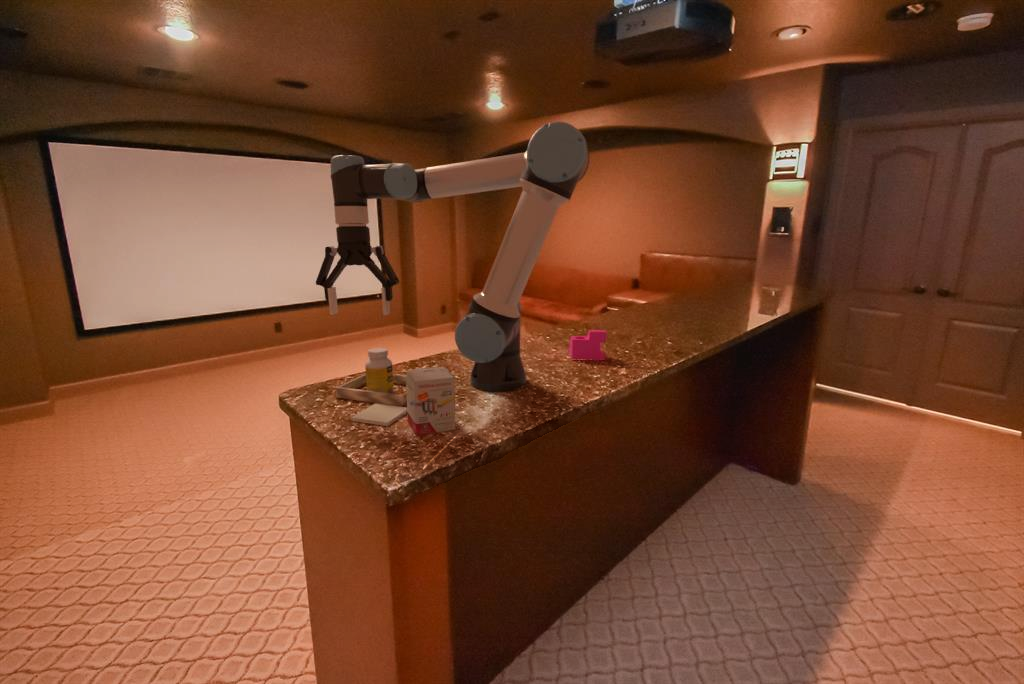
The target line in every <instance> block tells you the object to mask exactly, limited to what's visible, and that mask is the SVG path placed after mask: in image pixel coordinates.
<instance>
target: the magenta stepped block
mask: <svg viewBox="0 0 1024 684" xmlns="http://www.w3.org/2000/svg"><path fill="white" fill-rule="evenodd" d="M606 343H607V331H606V330H603V329H602V330H601V329H598V330H597V329H588V332H587V336H586V335H571V336H570V342H569V348H568V352H569V351H570V352H569V355H570V354H571V356H570V359H571V358H572V359H576V360H577V359H586V360H589V359H590V360H591V359H592V360H601V359H602V360H605V361H606V355H605V354H604V353H605V352H603V350H602V348H601V344H606ZM572 359H571V360H572Z"/></svg>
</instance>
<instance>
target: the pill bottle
mask: <svg viewBox="0 0 1024 684" xmlns="http://www.w3.org/2000/svg"><path fill="white" fill-rule="evenodd" d="M388 351H389V349H388V348H385V347H374V348H370V349H368V350H367V355H368V357H369V359H367V360H366V362H365V363H364V366H365V374H366V383H365V384H366V391H374V392H382V393H390V394H394V392H395V391H394V390H395V389H394V388H395V387H394V383H393V374H394V373H393V371H394V370H393V362H392V361H393V360H392V359H390V358H388V355H389V352H388Z"/></svg>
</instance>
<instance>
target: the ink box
mask: <svg viewBox="0 0 1024 684" xmlns="http://www.w3.org/2000/svg"><path fill="white" fill-rule="evenodd" d="M405 376H406V386H405V387H406V391H407V403H406V408H407V413H406V414H407V417H406V418H407V424H409V426H410V428H411V430H412V431H413V433H414V435H416V436H423V435H429V434H430V435H431V434H435V433H441V432H448V431H454V430H456V399H455V398H456V388H455V386H456V384H455V383H456V381H455V376H454V375H453V374H452V373H451V372H450V370H449V369H448V368H447V367H445V366H435V367H425V368H424V367H423V368H416V369H407V370H406V371H405Z"/></svg>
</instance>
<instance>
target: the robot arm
mask: <svg viewBox="0 0 1024 684" xmlns="http://www.w3.org/2000/svg"><path fill="white" fill-rule="evenodd" d="M589 165H590V152H589V148H588V144H587V141H586V138H585V136H584V135H583V133H582V132H581V131H580V130H579V129H578V128H577V127H575V126H574V125H573V124H571V123H568V122H564V121H559V120H557V121H550V122H548V123H545V124H543V125H541V126H540V127H539V128H538V129H537V130H535V132H534V133H533V134H532V136H531V137H530V140H528V144H527V149H526V151H525V152H518V153H512V154H506V155H501V156H494V157H488V158H480V159H473V160H466V161H462V162H455V163H448V164H442V165H435V166H428V167H423V168H417V169H414V168H413V166H412V165H411V164H410V163H402V162H401V163H400V162H392V163H380V164H366V163H365V160H364V158H363V157H362V156H360V155H359V156H358V155H351V154H350V155H349V154H348V155H346V154H340V155H339V154H338V155H334V156H333V157H331V159H330V179H331V187H332V194H333V204H334V205H333V206H334V207H333V209H334V218H335V219H334V220H335V222H334V223H335V224H336V225H338V226H336V228H335V229H336V241H337V247H335V246H326V247H325V248H324V250H325V252H324V258H323V261H322V264H321V267H320V270H319V272H318V275H317V277H316V280H315V285H316V286H320V287H323V290H324V291H323V292H324V298H325V299H324V300H325V301H326V302H327V301H328V305H329V308H328V309H329V315H331V316H333V315H336V314H339V308H338V299H337V298H338V297H337V296H338V295H337V288H336V287H337V286H334V284H335V283H336V281H337V279H338V278H339V277H340V275H341V274H342V272H343V271H344V269H345V268H346V267H348V266H355V265H356V266H364V267H366V268H367V269H368V270H369V271H370V272H371V274H373V276H374V277H375V278H376V279H377V280H378V281H379V282H380V283H381V284H382V286H384V287H381V290H380V291H381V301H382V314H383V316H387V315H389V314H391V304H390V301H393V298H394V296H393V294H394V293H393V287H394V286H396V285H399V283H400V279H399V277H398V276H397V274H396V272H395V271H394V269H393V266H392V265H391V263H390V261H389V260H388V257H387V256H386V253H385V248H384V245H377V246H374V247H372V246H371V231H370V227H369V226H367V225H368V224H369V222H370V221H369V220H370V219H369V210H368V207H369V206H368V200H376V199H377V200H378V199H380V200H381V199H391V200H398V201H405V202H408V203H409V202H410V203H413V204H414V203H415V204H416V203H417V204H418V203H423V202H425V201H428V200H432V199H439V198H447V197H454V196H462V195H469V194H476V193H477V194H478V193H482V192H491V191H498V190H506V189H512V188H519V187H521V188H522V192H521V193H520V197H519V199H518V201H517V205H516V207H515V208H514V212H513V213H512V214H513V215H512V216H511V220H510V221H509V224H508V227H507V229H506V231H505V234H504V236H503V239H502V242H501V244H500V247H499V249H498V252H497V254H496V256H495V258H494V261H493V264H492V266H491V268H490V271H489V274H488V276H487V279H486V281H485V284H484V286H483V289H482V291H480V292H478V293H476V294H474V295H473V296H472V299H471V300H470V301H471V302H470V304H469V306H468V308H467V310H466V311H467V312H466V313H465V316H463V317H462V318H461V319H460V321H459V322H458V323H457V324H456V327H455V330H454V342H455V345H456V346H457V349H458V351H459V352H460V353H461V354H462V355H463V356H464V357H465V358H466V359H468V360H469V361H472V362H473V366H472V369H471V372H470V378H469V379H470V381H469V382H470V383H469V384H470V386H471V387H473V388H475V389H477V390H481V391H484V392H500V393H501V391H503V392H510V391H509V390H512V391H516V390H515V389H517V390H519V389H518V388H520V389H522V388H523V387H522V386H524V385H525V384H526V385H527V372H526V370H525V366H524V363H523V360H522V358H521V324H522V323H521V319H522V318H521V317H522V316H521V315H522V309H521V306H522V305H521V302H520V299H521V297H522V295H523V293H524V290H525V288H526V286H527V283H528V281H529V278H530V276H531V273H532V271H533V269H534V267H535V264H536V262H537V260H538V258H539V255H540V252H541V250H542V248H543V246H544V243H545V241H546V240H547V236H548V234H549V232H550V230H551V227H552V225H553V222H554V221H555V218H556V215H557V213H558V210H559V209H560V207H561V206H562V205H564V204H567V203H568V202H570V201H571V198H572V196H573V194H574V192H575V189H576V186H577V185H578V183H579V182H580V181H581V180H582V179H583V178H584V177H585V176H586V174H587V171H588V170H589ZM337 255H338V256H339V257H340V258H339V259H338V261H337V262H336V264H335V267H334V268H333V270H332V271H331V268H332V265H333V263H334V260H335V257H336V256H337ZM372 255H374V256H375V257H376V258H377V261H378V262H379V263H380V266H381V267H382V269H383V270H381V268H379V266H377V264H376V263H375V261H374V260H373V259H372V257H371V256H372ZM383 271H384V272H385V273H384V272H383ZM526 385H525V386H526ZM525 386H524V387H525ZM521 387H522V388H521Z"/></svg>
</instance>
